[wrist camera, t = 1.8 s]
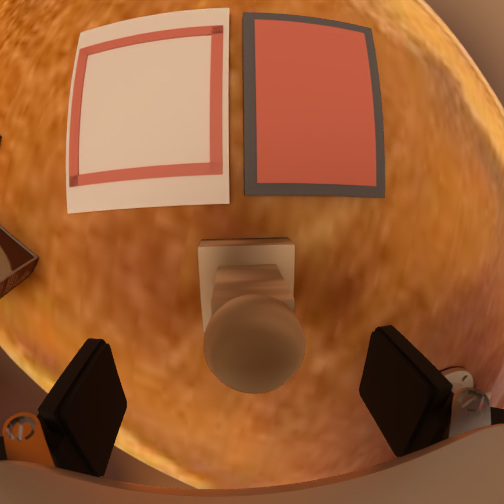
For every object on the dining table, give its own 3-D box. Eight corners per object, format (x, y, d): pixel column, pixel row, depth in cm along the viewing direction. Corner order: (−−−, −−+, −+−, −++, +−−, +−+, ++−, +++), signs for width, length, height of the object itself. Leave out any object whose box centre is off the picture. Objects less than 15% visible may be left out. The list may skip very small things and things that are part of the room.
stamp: (287, 237, 20) (345, 294, 10) (285, 315, 22) (326, 418, 11) (201, 239, 20) (167, 301, 9) (206, 318, 21) (188, 427, 11)
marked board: (229, 14, 16) (229, 6, 15) (229, 202, 20) (229, 203, 18) (85, 37, 16) (79, 31, 14) (74, 212, 19) (66, 213, 18)
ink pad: (366, 33, 17) (371, 27, 16) (378, 197, 20) (385, 198, 19) (242, 18, 16) (243, 11, 15) (244, 195, 20) (245, 195, 18)
